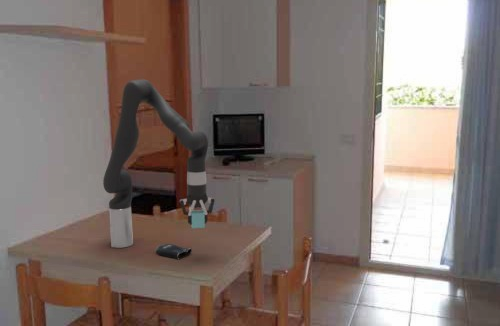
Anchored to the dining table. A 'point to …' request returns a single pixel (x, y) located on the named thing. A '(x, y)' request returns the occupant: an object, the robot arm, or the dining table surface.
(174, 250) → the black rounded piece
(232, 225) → the dining table surface
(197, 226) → the teal block
